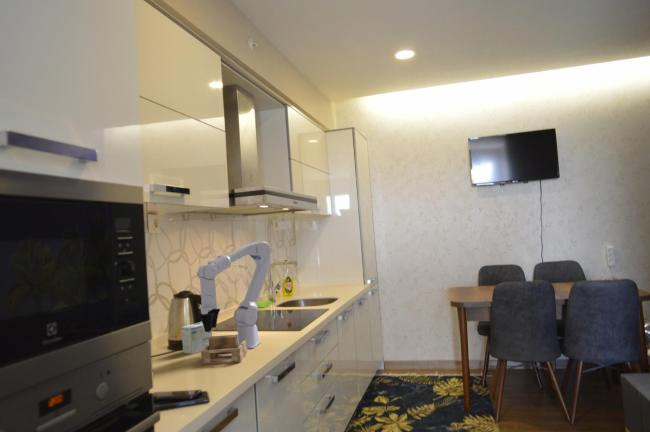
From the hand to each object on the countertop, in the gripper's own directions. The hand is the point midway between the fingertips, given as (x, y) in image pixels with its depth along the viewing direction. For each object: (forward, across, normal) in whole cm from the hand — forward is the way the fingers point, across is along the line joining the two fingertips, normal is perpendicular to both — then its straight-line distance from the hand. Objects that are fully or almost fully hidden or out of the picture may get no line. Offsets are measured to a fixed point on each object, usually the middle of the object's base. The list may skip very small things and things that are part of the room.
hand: (210, 329), depth 186 cm
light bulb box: (+10, -10, -8) cm, 16 cm away
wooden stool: (+10, +7, +7) cm, 14 cm away
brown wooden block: (+8, +7, +6) cm, 12 cm away
